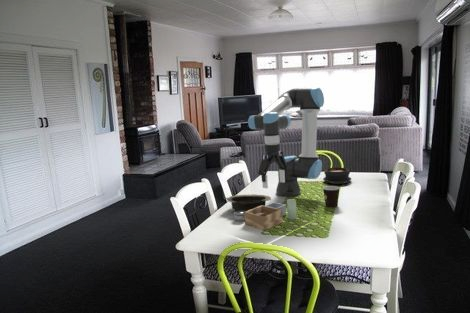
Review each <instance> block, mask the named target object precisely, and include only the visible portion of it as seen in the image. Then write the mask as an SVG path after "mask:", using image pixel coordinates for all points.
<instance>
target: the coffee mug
mask: <svg viewBox="0 0 470 313" xmlns="http://www.w3.org/2000/svg"><path fill="white" fill-rule="evenodd" d="M322 190H323V191H322V192H323V197H324V204H325V207H327V208H330V207H331V209H332V208H338V205H339V195H340V187H339V186H336V185H326V186H323V187H322Z"/></svg>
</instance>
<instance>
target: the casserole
mask: <svg viewBox="0 0 470 313" xmlns="http://www.w3.org/2000/svg"><path fill="white" fill-rule="evenodd" d="M323 173H324V177H323V178H322V179H323V181H324V182H326V183H327V182H328V183H329V184H337V185H339V184H340V185H341V184H348V183H349V182H350V181H351V180H352V178H351V177H350V174H351V172H350V171H349V169H348V168H347V167H328V168H326V169H325V170H324V172H323Z"/></svg>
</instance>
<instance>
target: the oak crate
mask: <svg viewBox="0 0 470 313" xmlns="http://www.w3.org/2000/svg"><path fill="white" fill-rule="evenodd" d="M257 212H259V213H263V214H264V216H261V215H257V214H255V213H257ZM244 215H245V221H244V225H246V226H249V227H254V228H255V229H256V228H257V229H260V230H263V231H266V230H268V229H270V228H273V227H275V226H277V225H280V224H281V223H284V222H283V220H284V219H283V218H284V216H283V215H282V210H281V209H276V208H272V207H267V206H263V205H261V206H259V207H256V208H254V209H251V210H248V211H246V212H244Z"/></svg>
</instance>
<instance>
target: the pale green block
mask: <svg viewBox="0 0 470 313" xmlns="http://www.w3.org/2000/svg"><path fill="white" fill-rule="evenodd" d="M286 214H287V219H288V220H296V219H297V218H298V217H297V199H295V198H289V199H286Z"/></svg>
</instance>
